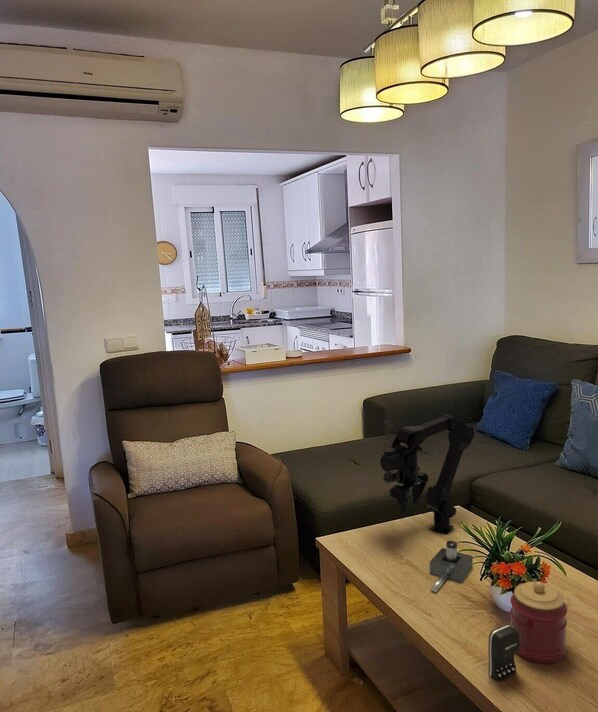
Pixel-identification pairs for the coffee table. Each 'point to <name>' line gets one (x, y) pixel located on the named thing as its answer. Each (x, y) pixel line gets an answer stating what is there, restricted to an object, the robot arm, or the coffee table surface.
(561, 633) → the canister
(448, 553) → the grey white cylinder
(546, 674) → the coffee table surface
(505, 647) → the battery charger
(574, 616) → the coffee table surface
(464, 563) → the chuck block
